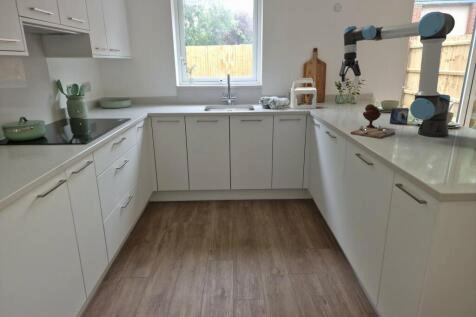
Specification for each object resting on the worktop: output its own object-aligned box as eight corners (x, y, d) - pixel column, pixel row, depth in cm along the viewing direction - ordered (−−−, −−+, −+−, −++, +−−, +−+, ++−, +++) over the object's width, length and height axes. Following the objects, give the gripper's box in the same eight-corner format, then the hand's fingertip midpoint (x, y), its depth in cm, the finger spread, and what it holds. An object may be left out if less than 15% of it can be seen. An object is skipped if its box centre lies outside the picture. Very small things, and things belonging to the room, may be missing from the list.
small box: (389, 124, 219) (391, 108, 216) (389, 122, 225) (391, 107, 222) (407, 124, 215) (409, 109, 212) (406, 123, 221) (408, 107, 218)
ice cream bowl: (371, 129, 203) (374, 105, 199) (358, 126, 213) (359, 104, 208) (383, 127, 208) (385, 104, 204) (369, 125, 217) (371, 102, 213)
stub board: (394, 133, 190) (395, 127, 189) (379, 138, 179) (380, 132, 178) (366, 129, 203) (366, 123, 202) (350, 133, 192) (351, 127, 191)
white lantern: (292, 109, 300) (293, 78, 292) (290, 107, 313) (290, 77, 305) (316, 108, 301) (317, 77, 293) (312, 106, 313) (313, 77, 305)
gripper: (356, 54, 213) (356, 86, 217) (333, 52, 199) (333, 87, 202) (366, 52, 207) (366, 85, 211) (343, 50, 193) (343, 86, 196)
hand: (350, 86), depth 207 cm, fingers open, 13 cm apart
